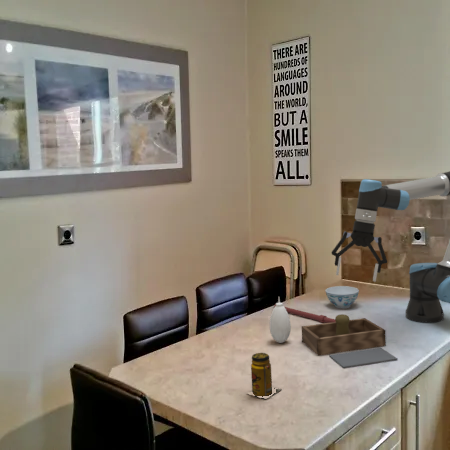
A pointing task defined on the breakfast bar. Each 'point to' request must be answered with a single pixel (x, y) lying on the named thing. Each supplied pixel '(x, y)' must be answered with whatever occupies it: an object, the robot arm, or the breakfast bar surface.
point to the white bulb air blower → (280, 323)
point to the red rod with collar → (310, 315)
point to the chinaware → (342, 295)
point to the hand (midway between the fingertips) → (355, 277)
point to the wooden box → (343, 337)
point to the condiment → (261, 375)
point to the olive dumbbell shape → (342, 324)
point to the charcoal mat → (362, 357)
